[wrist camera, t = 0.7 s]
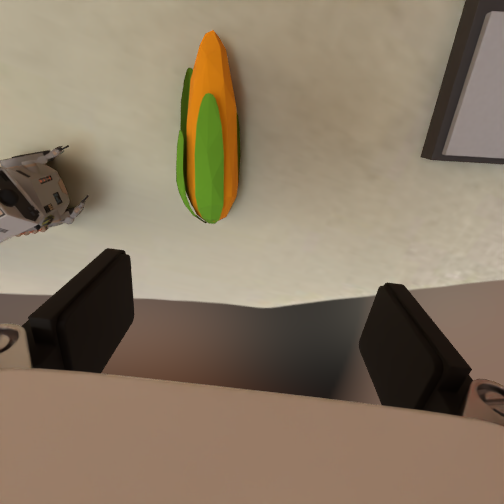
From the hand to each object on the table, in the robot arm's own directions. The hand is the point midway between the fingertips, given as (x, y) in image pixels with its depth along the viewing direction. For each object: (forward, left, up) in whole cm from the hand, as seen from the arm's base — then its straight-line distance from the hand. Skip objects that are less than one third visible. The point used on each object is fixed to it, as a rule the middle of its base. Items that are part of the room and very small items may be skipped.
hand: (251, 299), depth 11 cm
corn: (-3, -6, -30) cm, 30 cm away
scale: (-10, +27, -30) cm, 41 cm away
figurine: (+4, -26, -30) cm, 40 cm away
